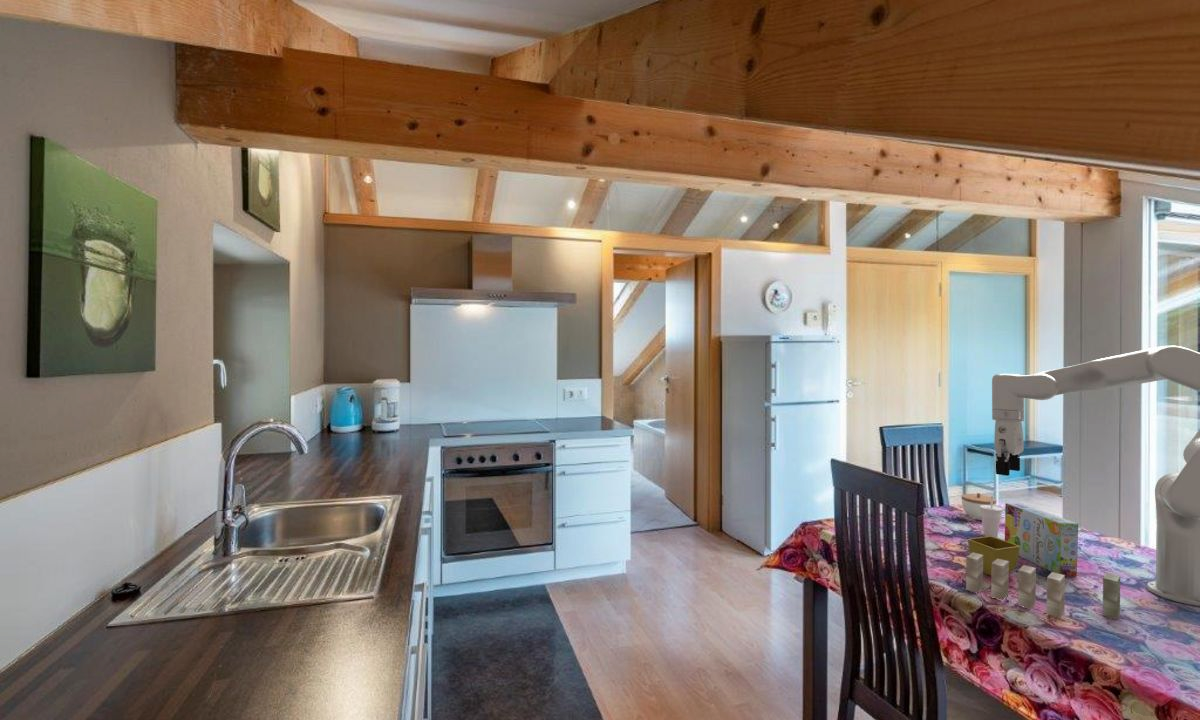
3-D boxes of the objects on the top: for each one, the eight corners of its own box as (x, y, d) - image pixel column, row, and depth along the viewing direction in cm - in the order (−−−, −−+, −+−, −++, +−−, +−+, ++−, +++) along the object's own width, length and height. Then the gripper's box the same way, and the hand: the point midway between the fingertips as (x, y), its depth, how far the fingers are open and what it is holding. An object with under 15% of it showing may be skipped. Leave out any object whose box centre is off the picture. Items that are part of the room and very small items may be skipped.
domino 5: (1119, 612, 127) (1120, 575, 127) (1116, 619, 124) (1117, 581, 124) (1106, 609, 129) (1106, 572, 129) (1102, 615, 126) (1103, 577, 126)
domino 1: (982, 588, 140) (983, 554, 140) (976, 594, 137) (977, 559, 137) (972, 585, 142) (972, 552, 142) (966, 590, 139) (966, 556, 139)
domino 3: (1035, 603, 132) (1035, 567, 131) (1030, 609, 128) (1030, 573, 128) (1023, 600, 133) (1023, 565, 133) (1018, 606, 130) (1018, 570, 130)
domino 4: (1064, 612, 127) (1064, 575, 127) (1059, 618, 124) (1060, 580, 124) (1051, 608, 129) (1051, 572, 129) (1046, 614, 126) (1047, 577, 126)
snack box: (1079, 577, 147) (1080, 523, 147) (1059, 576, 148) (1059, 523, 147) (1020, 548, 169) (1021, 501, 168) (1002, 548, 169) (1003, 501, 169)
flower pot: (996, 581, 144) (996, 549, 144) (966, 569, 153) (966, 538, 152) (1020, 578, 147) (1020, 546, 146) (989, 566, 155) (990, 535, 155)
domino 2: (1008, 595, 136) (1008, 561, 136) (1002, 601, 133) (1003, 566, 133) (997, 592, 138) (997, 558, 138) (991, 598, 135) (991, 563, 134)
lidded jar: (1001, 519, 198) (1001, 494, 198) (987, 524, 193) (987, 498, 193) (970, 512, 208) (970, 488, 207) (955, 516, 202) (955, 491, 202)
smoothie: (983, 537, 178) (984, 496, 178) (976, 531, 185) (976, 491, 184) (1005, 539, 177) (1006, 498, 176) (997, 533, 183) (998, 493, 183)
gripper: (1014, 418, 149) (1014, 479, 149) (1032, 414, 159) (1032, 470, 160) (982, 416, 155) (982, 474, 155) (1002, 412, 165) (1002, 466, 166)
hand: (1008, 472), depth 157 cm, fingers open, 9 cm apart
